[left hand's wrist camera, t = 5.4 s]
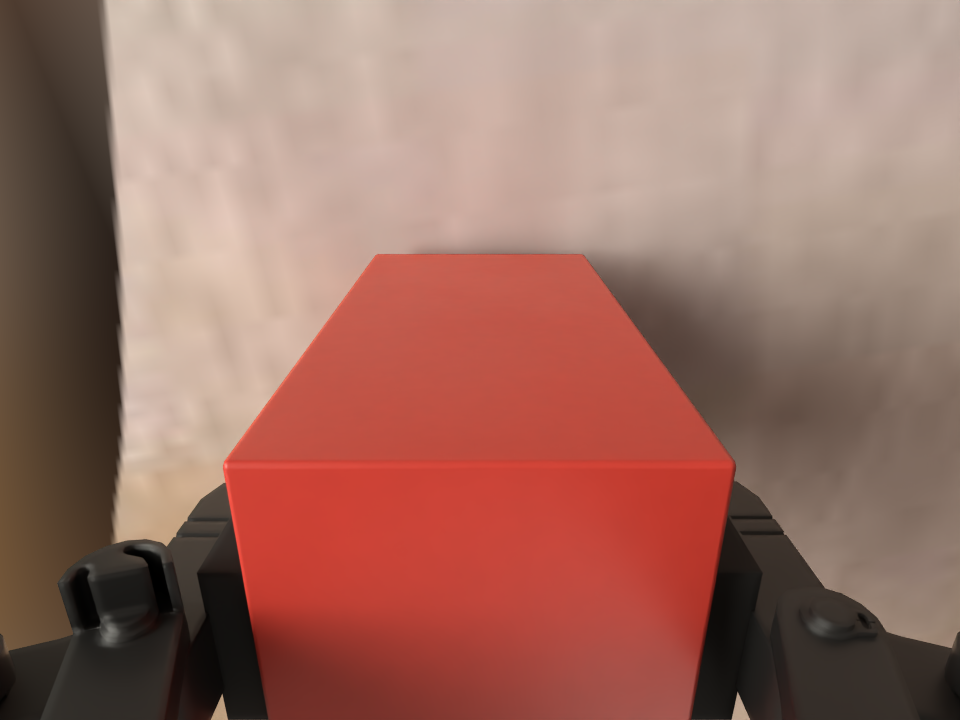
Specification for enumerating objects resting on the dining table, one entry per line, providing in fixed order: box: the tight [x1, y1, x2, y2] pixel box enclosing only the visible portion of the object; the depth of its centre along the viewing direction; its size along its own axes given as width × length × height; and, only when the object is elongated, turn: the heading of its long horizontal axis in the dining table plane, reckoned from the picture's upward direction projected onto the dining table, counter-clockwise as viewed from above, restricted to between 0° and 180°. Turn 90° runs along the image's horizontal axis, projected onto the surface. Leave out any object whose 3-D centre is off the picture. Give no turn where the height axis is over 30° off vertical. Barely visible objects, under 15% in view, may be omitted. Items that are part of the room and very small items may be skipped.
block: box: [223, 254, 736, 720], centre depth 13 cm, size 6×6×11 cm
